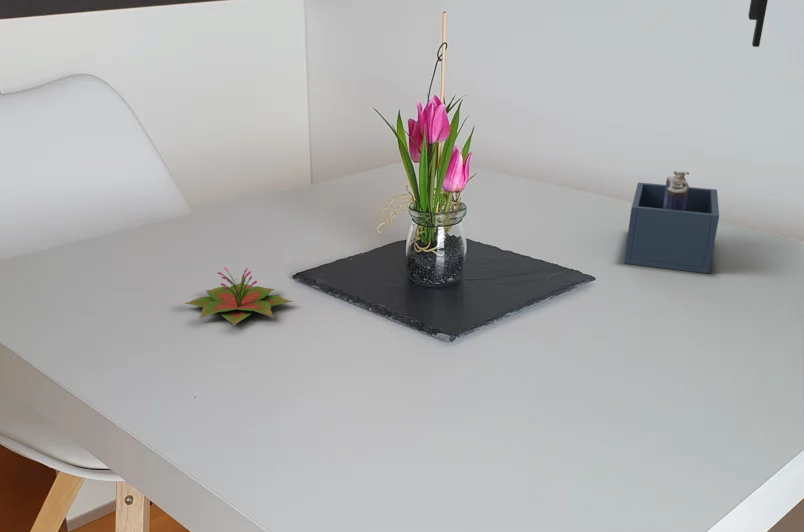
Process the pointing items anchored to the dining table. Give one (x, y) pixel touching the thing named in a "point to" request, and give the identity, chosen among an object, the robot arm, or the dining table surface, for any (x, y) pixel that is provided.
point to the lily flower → (237, 300)
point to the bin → (672, 230)
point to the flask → (676, 192)
